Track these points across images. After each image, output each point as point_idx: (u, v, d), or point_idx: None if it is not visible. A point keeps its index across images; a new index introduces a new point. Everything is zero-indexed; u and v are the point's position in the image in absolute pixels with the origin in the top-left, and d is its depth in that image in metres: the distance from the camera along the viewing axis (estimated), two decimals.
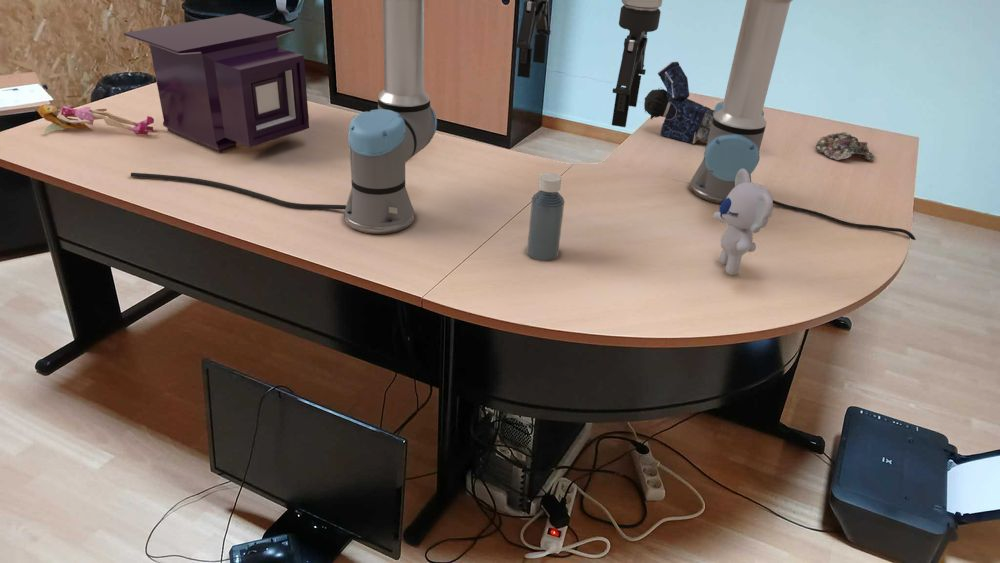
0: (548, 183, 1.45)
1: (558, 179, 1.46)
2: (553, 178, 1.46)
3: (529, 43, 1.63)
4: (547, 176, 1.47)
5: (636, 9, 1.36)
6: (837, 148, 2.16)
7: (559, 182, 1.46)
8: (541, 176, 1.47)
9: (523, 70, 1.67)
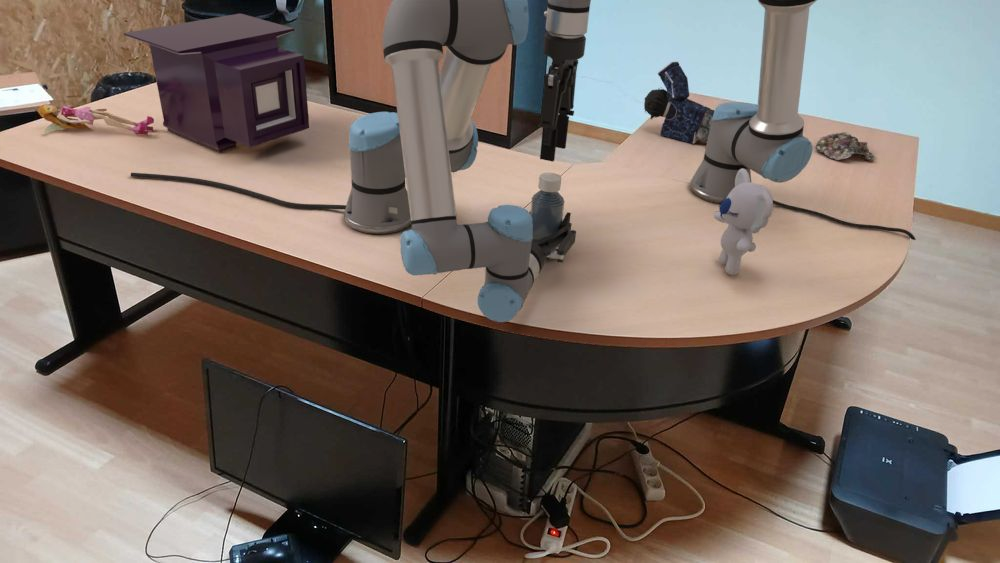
0: (548, 183, 1.45)
1: (558, 179, 1.46)
2: (553, 178, 1.46)
3: (554, 124, 1.36)
4: (547, 176, 1.47)
5: None
6: (837, 148, 2.16)
7: (559, 182, 1.46)
8: (541, 176, 1.47)
9: (547, 152, 1.40)
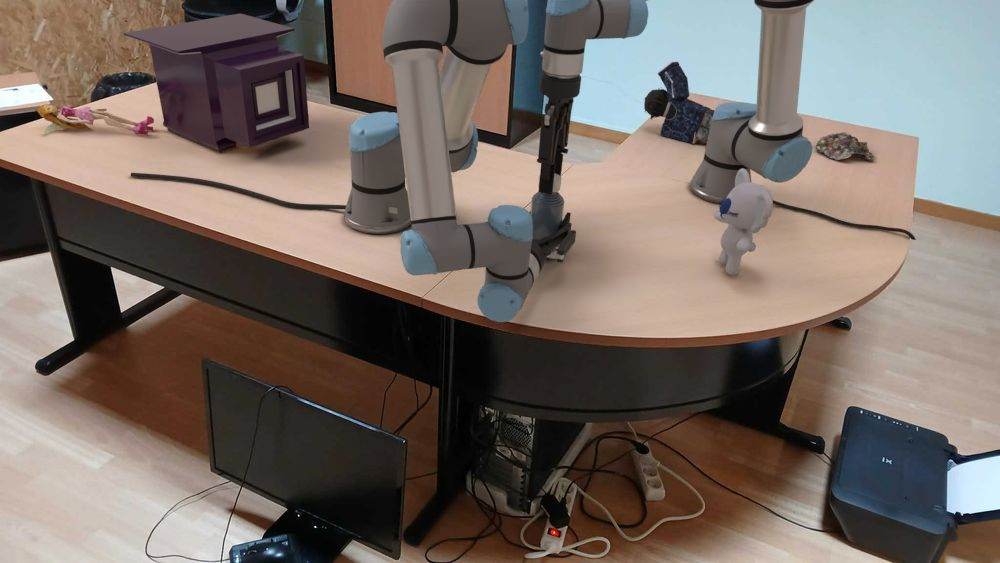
0: None
1: (558, 179, 1.46)
2: None
3: (552, 160, 1.41)
4: None
5: None
6: (837, 148, 2.16)
7: (559, 182, 1.46)
8: None
9: (545, 186, 1.45)
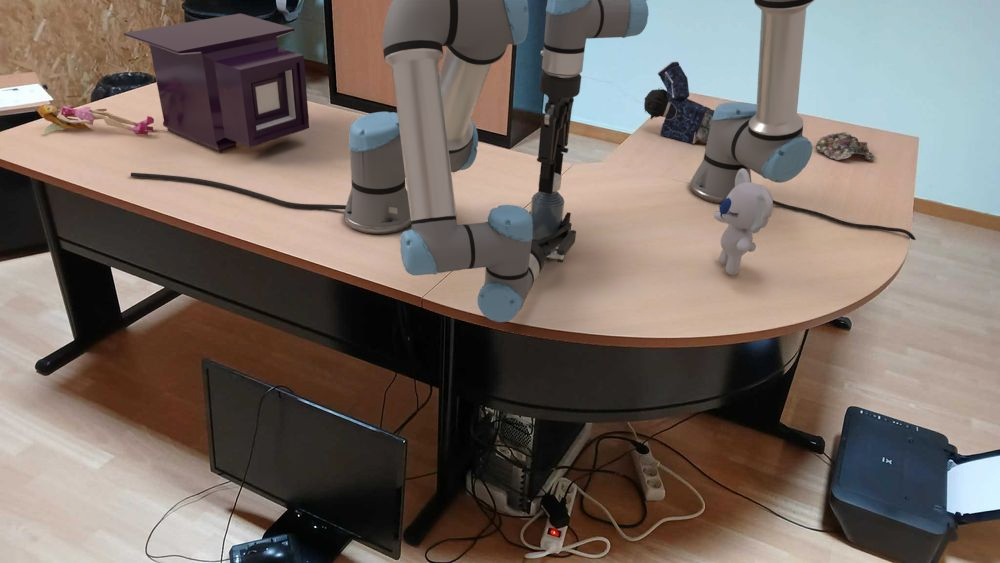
0: None
1: None
2: None
3: (552, 159, 1.41)
4: None
5: None
6: (837, 148, 2.16)
7: None
8: (557, 179, 1.46)
9: (545, 185, 1.45)
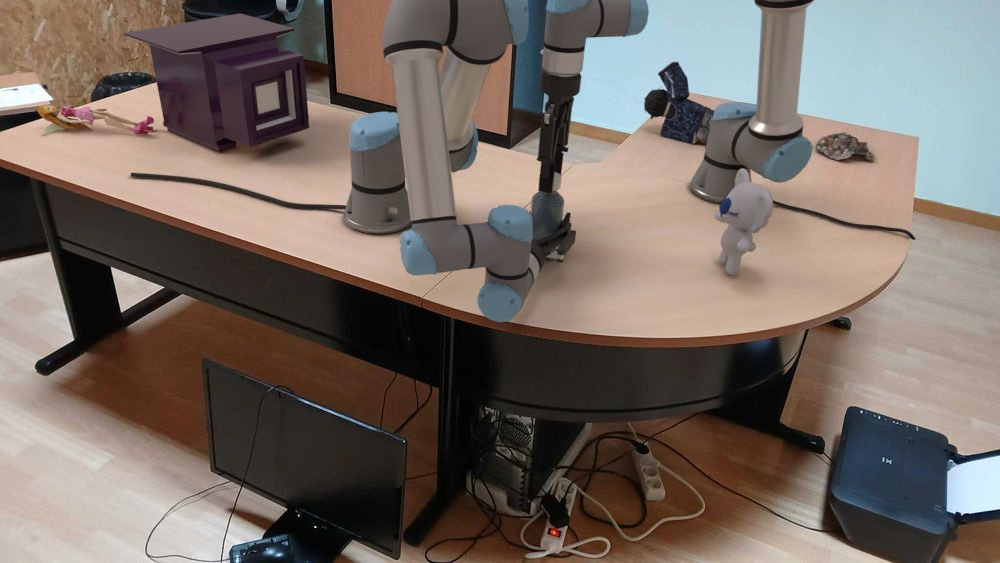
0: None
1: None
2: None
3: (551, 158, 1.41)
4: None
5: None
6: (837, 148, 2.16)
7: None
8: None
9: (545, 185, 1.45)
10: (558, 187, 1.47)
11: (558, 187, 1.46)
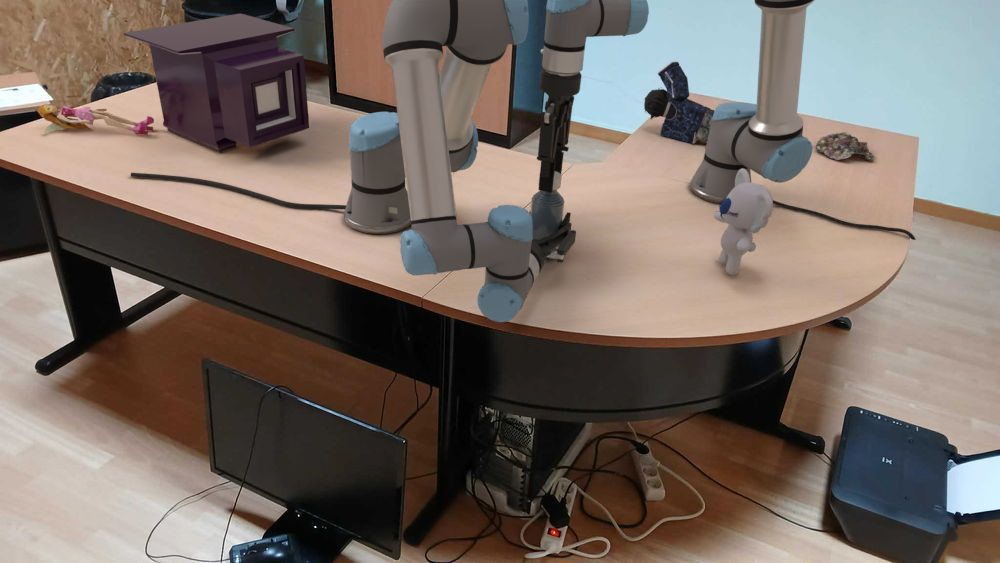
0: (555, 181, 1.45)
1: (559, 175, 1.47)
2: (554, 175, 1.47)
3: (551, 158, 1.40)
4: None
5: None
6: (837, 148, 2.16)
7: (561, 177, 1.47)
8: None
9: (545, 184, 1.45)
10: None
11: None
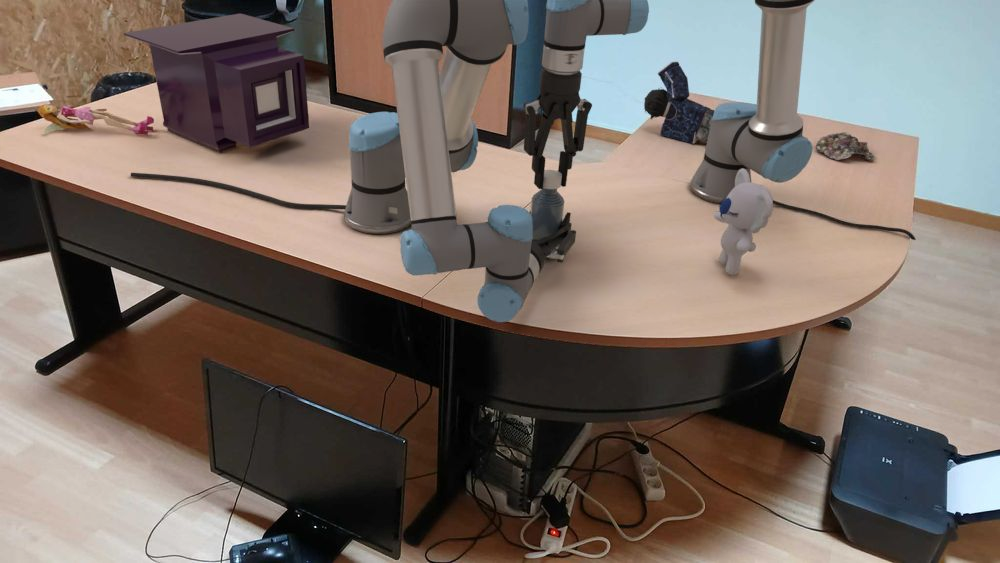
0: None
1: (544, 171, 1.48)
2: (548, 172, 1.47)
3: None
4: (553, 174, 1.46)
5: None
6: (837, 148, 2.16)
7: None
8: (559, 175, 1.46)
9: None
10: None
11: None
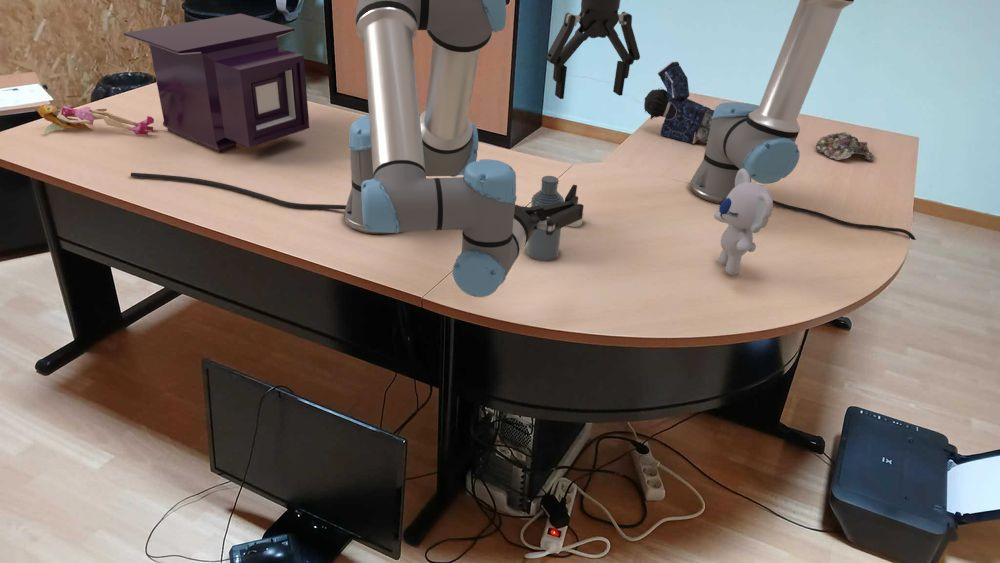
0: None
1: None
2: None
3: None
4: None
5: None
6: (837, 148, 2.16)
7: None
8: None
9: None
10: None
11: None
